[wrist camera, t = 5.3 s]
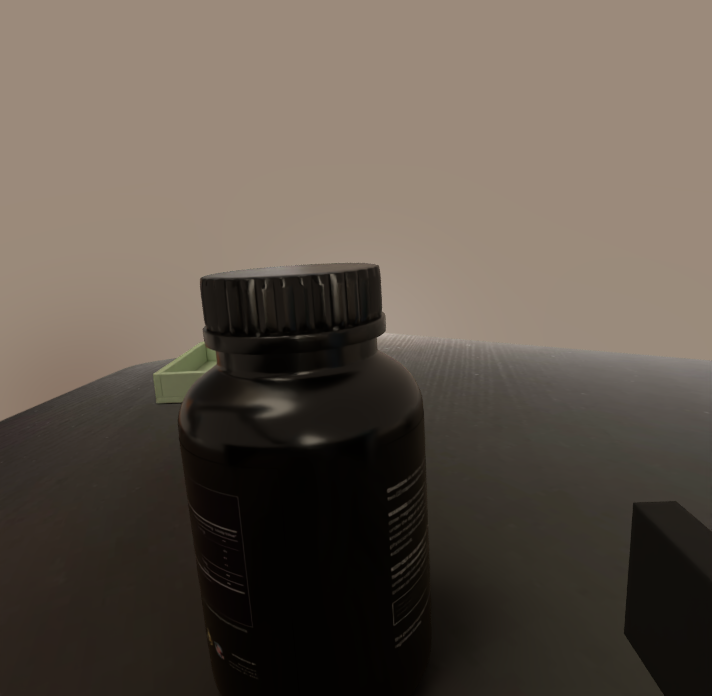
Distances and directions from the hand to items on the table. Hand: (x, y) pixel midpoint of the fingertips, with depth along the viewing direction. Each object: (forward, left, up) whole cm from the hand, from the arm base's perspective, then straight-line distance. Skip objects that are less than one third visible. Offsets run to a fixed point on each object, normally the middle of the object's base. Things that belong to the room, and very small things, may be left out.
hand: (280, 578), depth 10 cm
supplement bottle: (0, +6, -7) cm, 9 cm away
